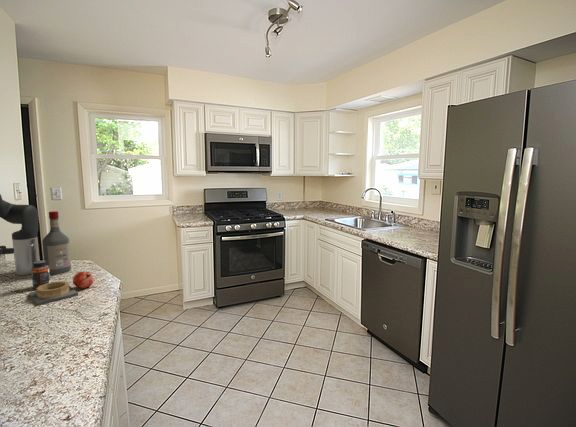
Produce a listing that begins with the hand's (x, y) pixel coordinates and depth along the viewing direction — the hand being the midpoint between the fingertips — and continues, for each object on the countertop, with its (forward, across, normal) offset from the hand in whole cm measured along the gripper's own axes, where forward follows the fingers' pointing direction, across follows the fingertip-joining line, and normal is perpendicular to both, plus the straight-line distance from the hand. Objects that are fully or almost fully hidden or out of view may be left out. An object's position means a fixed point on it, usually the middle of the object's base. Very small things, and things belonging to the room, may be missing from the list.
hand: (9, 249), depth 121 cm
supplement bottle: (+12, 0, +17) cm, 21 cm away
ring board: (+10, -14, +18) cm, 25 cm away
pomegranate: (+21, -14, +17) cm, 31 cm away
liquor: (+24, +17, +15) cm, 33 cm away
